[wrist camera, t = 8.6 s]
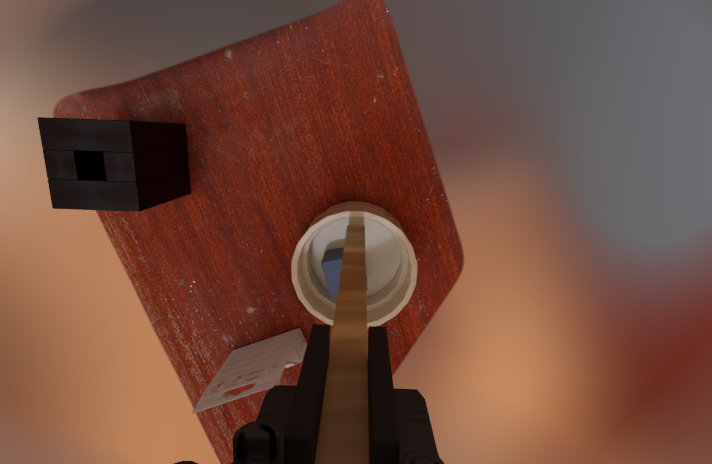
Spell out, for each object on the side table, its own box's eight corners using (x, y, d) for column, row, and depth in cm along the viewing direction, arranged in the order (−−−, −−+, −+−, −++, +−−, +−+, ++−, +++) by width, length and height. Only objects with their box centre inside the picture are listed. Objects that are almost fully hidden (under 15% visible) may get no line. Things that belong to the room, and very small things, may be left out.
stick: (347, 225, 38) (300, 554, 9) (364, 225, 38) (372, 557, 9) (346, 241, 39) (301, 602, 10) (364, 242, 39) (369, 605, 10)
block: (324, 251, 42) (320, 262, 39) (359, 243, 42) (359, 254, 38) (333, 283, 43) (330, 298, 40) (367, 276, 43) (367, 290, 39)
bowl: (300, 198, 42) (290, 208, 36) (413, 202, 42) (421, 213, 36) (301, 302, 45) (292, 327, 39) (406, 306, 45) (412, 331, 39)
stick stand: (115, 121, 40) (36, 117, 30) (185, 123, 40) (129, 120, 30) (124, 191, 42) (52, 208, 32) (191, 193, 42) (139, 211, 32)
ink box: (309, 342, 46) (293, 409, 35) (240, 366, 47) (203, 437, 36) (300, 322, 45) (280, 383, 34) (230, 346, 46) (189, 413, 35)
